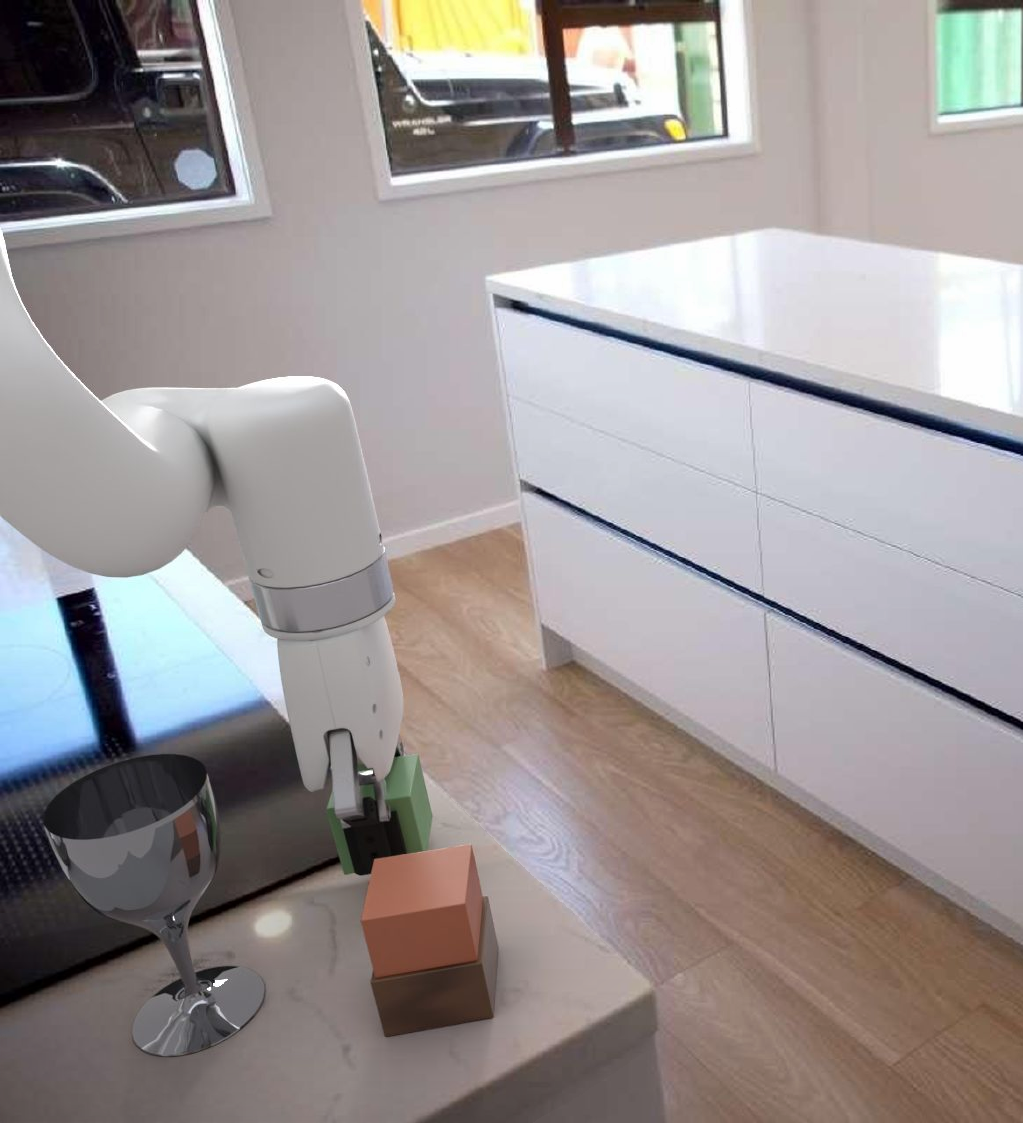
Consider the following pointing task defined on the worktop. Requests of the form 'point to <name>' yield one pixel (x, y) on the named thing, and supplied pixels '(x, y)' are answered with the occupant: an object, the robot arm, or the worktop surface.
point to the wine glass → (155, 885)
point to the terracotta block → (423, 910)
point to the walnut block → (441, 989)
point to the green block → (394, 807)
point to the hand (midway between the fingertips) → (387, 839)
